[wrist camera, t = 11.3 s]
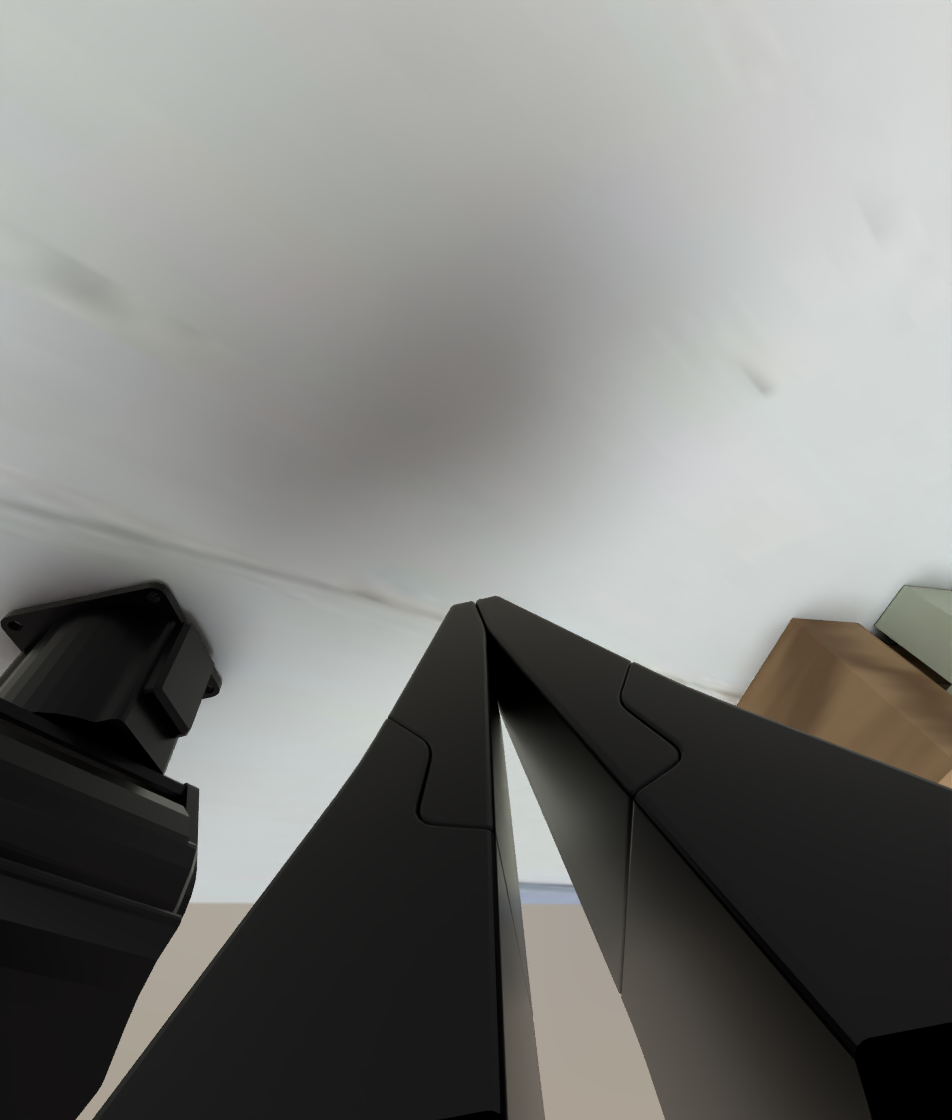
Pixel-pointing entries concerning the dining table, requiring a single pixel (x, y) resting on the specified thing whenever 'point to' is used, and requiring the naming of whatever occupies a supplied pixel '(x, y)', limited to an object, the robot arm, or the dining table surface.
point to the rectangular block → (857, 696)
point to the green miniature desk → (922, 626)
